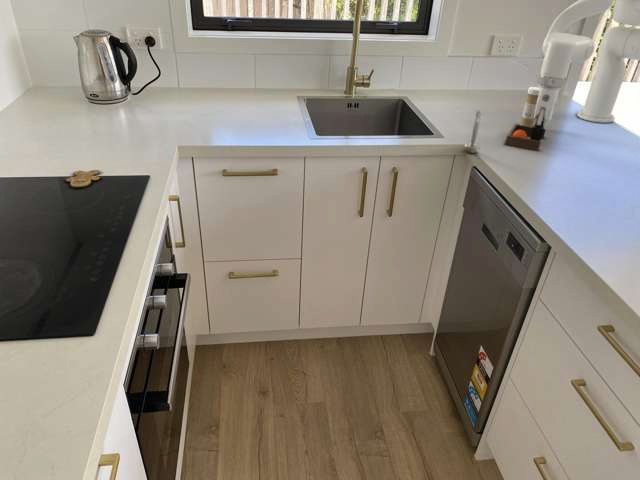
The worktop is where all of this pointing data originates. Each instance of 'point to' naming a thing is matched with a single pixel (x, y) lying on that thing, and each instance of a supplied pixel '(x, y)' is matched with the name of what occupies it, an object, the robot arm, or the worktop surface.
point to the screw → (474, 135)
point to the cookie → (83, 178)
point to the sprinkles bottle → (530, 107)
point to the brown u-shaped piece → (523, 141)
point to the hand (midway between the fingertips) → (535, 139)
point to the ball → (520, 134)
